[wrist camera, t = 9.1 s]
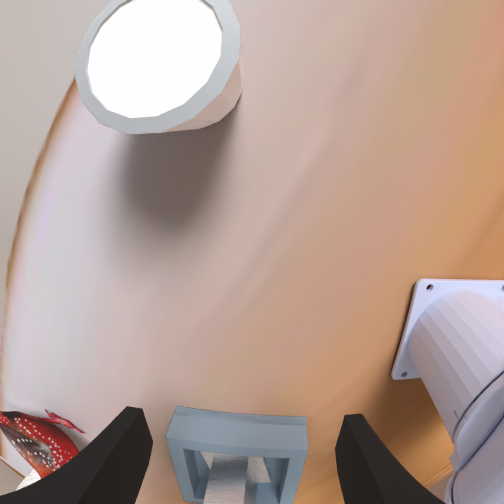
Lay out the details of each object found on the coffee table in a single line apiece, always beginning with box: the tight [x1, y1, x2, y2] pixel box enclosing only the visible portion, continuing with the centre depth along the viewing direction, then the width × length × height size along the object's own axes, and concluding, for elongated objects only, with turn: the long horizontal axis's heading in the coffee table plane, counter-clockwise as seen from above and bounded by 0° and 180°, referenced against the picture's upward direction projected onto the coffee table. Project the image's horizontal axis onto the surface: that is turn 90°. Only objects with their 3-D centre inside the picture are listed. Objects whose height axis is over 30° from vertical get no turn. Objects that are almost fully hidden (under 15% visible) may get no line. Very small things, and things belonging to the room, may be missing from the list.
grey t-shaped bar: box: [200, 451, 271, 504], centre depth 20 cm, size 5×6×8 cm
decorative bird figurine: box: [0, 410, 84, 479], centre depth 21 cm, size 3×18×10 cm, turn 69°
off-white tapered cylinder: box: [75, 0, 243, 134], centre depth 13 cm, size 7×7×7 cm
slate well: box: [165, 406, 308, 504], centre depth 23 cm, size 10×11×4 cm
